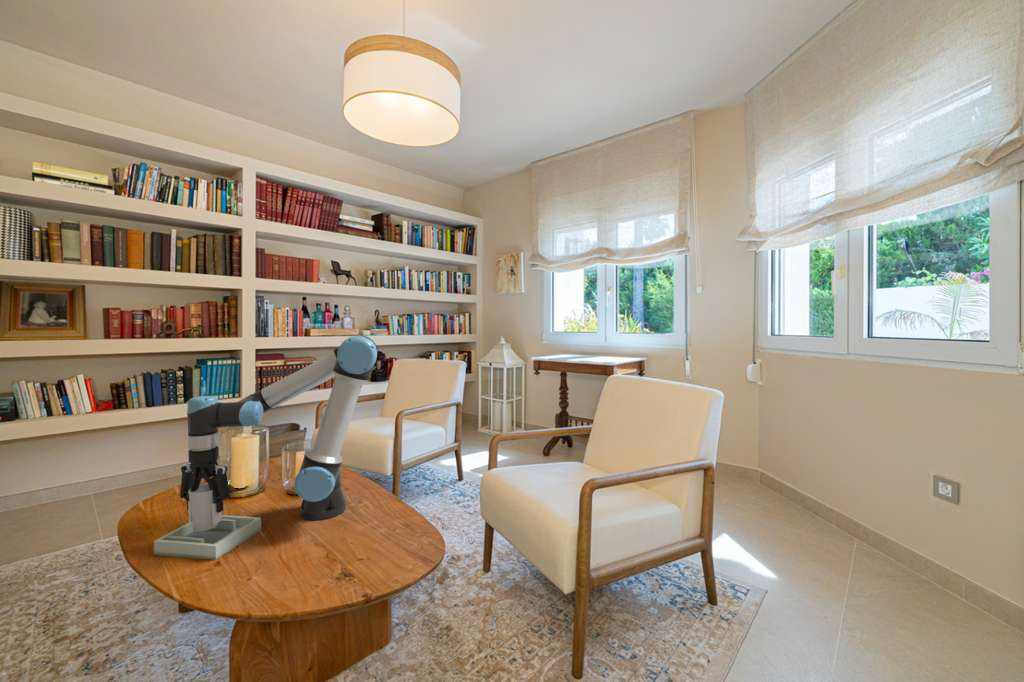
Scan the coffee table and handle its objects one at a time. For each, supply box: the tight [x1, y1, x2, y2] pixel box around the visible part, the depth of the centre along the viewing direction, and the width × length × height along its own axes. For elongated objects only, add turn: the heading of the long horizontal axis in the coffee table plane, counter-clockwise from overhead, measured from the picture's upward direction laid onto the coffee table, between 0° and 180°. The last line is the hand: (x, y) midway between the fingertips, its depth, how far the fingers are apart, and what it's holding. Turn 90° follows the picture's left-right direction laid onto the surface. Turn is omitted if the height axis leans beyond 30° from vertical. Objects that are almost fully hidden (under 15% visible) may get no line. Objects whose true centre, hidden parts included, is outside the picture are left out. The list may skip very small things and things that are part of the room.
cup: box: [188, 483, 219, 532], centre depth 133 cm, size 8×8×12 cm
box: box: [153, 514, 262, 561], centre depth 133 cm, size 20×18×4 cm
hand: (205, 521), depth 133 cm, fingers closed on cup, 7 cm apart
